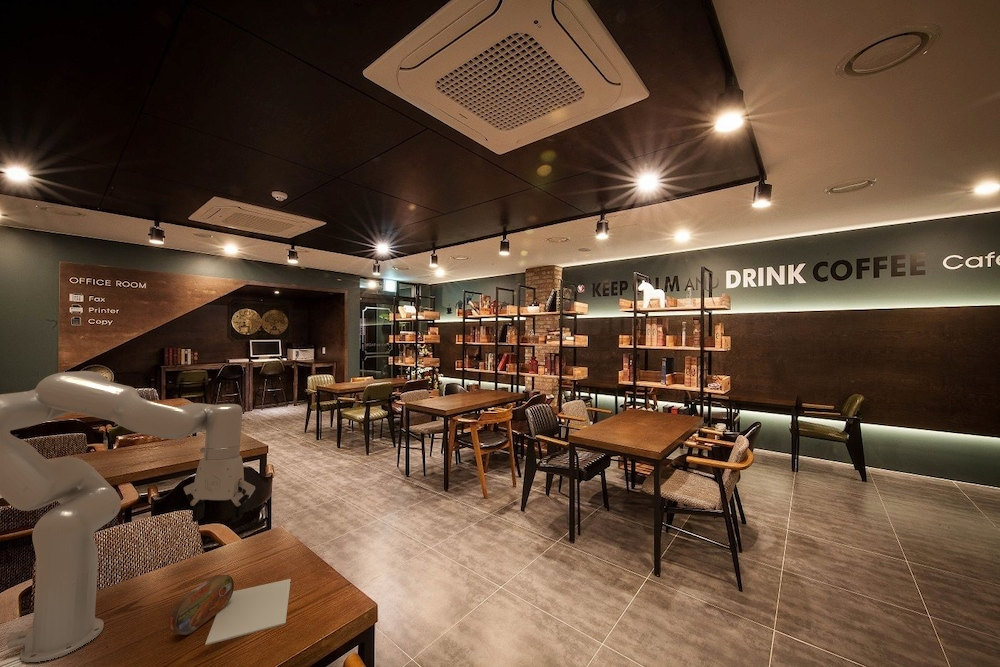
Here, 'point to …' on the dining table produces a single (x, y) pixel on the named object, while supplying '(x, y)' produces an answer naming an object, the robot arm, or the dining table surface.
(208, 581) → the tin
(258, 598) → the mat
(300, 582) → the dining table surface
